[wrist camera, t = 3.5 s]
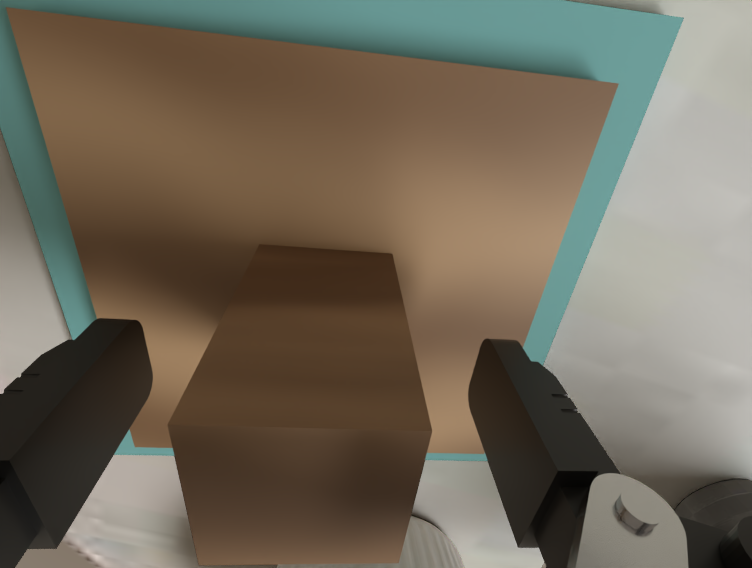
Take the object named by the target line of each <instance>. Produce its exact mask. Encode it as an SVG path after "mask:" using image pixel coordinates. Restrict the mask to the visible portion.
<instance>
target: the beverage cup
mask: <svg viewBox="0 0 752 568" xmlns="http://www.w3.org/2000/svg"><path fill="white" fill-rule="evenodd" d="M675 513H676V514H677V516H680V517H683V518H687V519H690V520H693V521H696V522H699V523H703V524H706V525H709V526H712V527H715V528H719V529H722V530H725V531H728V532H730V531H731V530H732V529H733V528H734V527H735V525H736V524H737V523H738V522H739V521H740V520H742V519H743V518H745V517H748V516H752V481H750V480H740V479H734V480H728V481H722V482H718V483H715V484H712V485H709V486H706V487H704V488H702V489H700V490H698V491H696V492H694V493H692V494H691V495H690V496H688V497H687V498H686V499H684V500H683V501H682V502H681V503H680V504H679V505H678V506H677V508H676V509H675Z"/></svg>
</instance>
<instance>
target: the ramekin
mask: <svg viewBox="0 0 752 568" xmlns="http://www.w3.org/2000/svg"><path fill="white" fill-rule="evenodd" d="M277 568H465V567H464V564H463V561H462V559H461V556H460V554H459V552H458V550H457V548H456V547H455V546H454V544H453V543H452V541H451V540H450V539H449V538H448V537H447V536H446V535H445V534H444V533H442V532H441V531H440V530H439V529H438V528H437V527H435V526H434V525H432V524H430V523H428V522H426V521H424V520H422V519H420V518H417V517H414V516H411V517H410V521H409V525H408V529H407V533H406V537H405V541H404V545H403V549H402V553H401V557H400V560H399V563H381V564H283V565H278V566H277Z"/></svg>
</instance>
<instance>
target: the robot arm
mask: <svg viewBox="0 0 752 568" xmlns="http://www.w3.org/2000/svg"><path fill="white" fill-rule="evenodd" d="M152 383H153V372H152V367H151V362H150V358H149V353H148V349H147V345H146V340H145V336H144V331H143V327H142V325H141V323H140V322H139V321H138V320H130V319H110V318H98V319H96V320H94V321H93V322H92V323H91V324H90V325H89V326H88V327H87V328H86V329H85V330H84V331H83V332H82V333H81V334H80V335H79V336H78V337H77V338H76V339H75V340H67V341H65V342H63V343H62V344H60V345H58V346H56V347H55V348H53V349H51V350H49V351H47V352H46V353H44V354H42V355H41V356H40V357H39V358H37V359H36V360H35V361H34V362H33V363H32V364H31V365H30V366H29V367H28V368H27V369H26V370H25V371H24V372H22V373H21V377H20V378H19V377H17V378H16V379H15V380H14V381H13V382H12V383H11V384H10V385H9V386H7V387H6V388H5V389H4V393H3V394H0V568H15V567H16V565H17V564H18V562H19V561H20V559H21V558H22V556H23V555H24V553H25V552H26V550H27V549H57V547H58V545H59V544H60V542H61V541H62V539H63V537H64V536H65V534H66V532H67V531H68V529H69V527H70V526H71V524H72V522H73V521H74V519H75V518H76V516H77V514H78V513H79V511H80V509H81V508H82V506H83V504H84V503H85V501H86V499H87V498H88V496H89V495H90V493H91V491H92V490H93V488H94V486H95V485H96V483H97V481H98V480H99V478H100V476H101V475H102V473H103V472H104V470H105V468H106V467H107V465H108V463H109V462H110V460H111V458H112V457H113V455H114V453H115V452H116V450H117V449H118V447H119V445H120V444H121V442H122V440H123V439H124V437H125V435H126V434H127V432H128V431H129V429H130V427H131V426H132V424H133V422H134V421H135V419H136V417H137V416H138V414H139V412H140V411H141V409H142V408H143V406H144V404H145V403H146V401H147V399H148V397H149V395H150V392H151V388H152ZM567 395H568V394H567V393H566V391H565V390H564V388H563V387H562V385H561V384H560V382H559V381H558V379H557V378H556V377H555V376H554V375H553V374H552V373H551V372H549V371H548V370H547V369H546V368H545V367H544V366H542V365H541V364H540V363H539V362H534V361H531V360H530V359H529V357H528V356H527V354H526V352H525V351H524V349H523V347H522V346H521V344H520V343H519V342H518V341H517V340H507V339H487V338H486V339H484V340H483V342H482V344H481V346H480V350H479V353H478V356H477V360H476V363H475V367H474V370H473V373H472V377H471V380H470V384H469V389H468V403H469V408H470V412H471V415H472V417H473V420H474V423H475V426H476V429H477V432H478V435H479V437H480V440H481V443H482V446H483V449H484V452H485V454H486V457H487V460H488V463H489V466H490V469H491V472H492V474H493V477H494V480H495V483H496V486H497V489H498V492H499V494H500V497H501V500H502V503H503V506H504V509H505V511H506V514H507V517H508V520H509V523H510V526H511V529H512V531H513V534H514V537H515V540H516V543H517V546H518V548H537V547H539V549H540V552H541V554H542V557H543V559H544V564H543V565H542V567H541V568H752V516H748V517H745V518H743V519H742V520H740V521H739V522H738V523H737V524H736V525H735V527H734V528H733V529H732V530H731V531H730V532H728V531H725V530H722V529H719V528H715V527H712V526H709V525H706V524H703V523H699V522H696V521H693V520H690V519H687V518H683V517H680V516H677V514H676V513H675V511H674V510H673V509H672V508H671V507H670V505H669V504H668V503H667V502H666V501H665V500H664V499H663V498H662V497H661V496H660V495H658V494H657V493H656V492H655V491H654V490H652V489H651V488H649V487H648V486H646V485H645V484H643V483H641V482H639V481H637V480H635V479H633V478H631V477H628V476H625V475H621V474H620V472H619V471H618V470H617V468H616V467H615V465H614V464H613V462H612V461H611V459H610V458H609V456H608V455H607V453H606V451H605V450H604V448H603V447H602V445H601V444H600V442H599V441H598V439H597V438H596V436H595V435H594V433H593V432H592V430H591V429H590V427H589V426H588V424H587V423H586V421H585V420H584V418H583V417H582V415H581V414H580V413H578V412H577V408H576V406H575V405H574V403H573V402H572V400H571V399H570V398H568V397H567Z"/></svg>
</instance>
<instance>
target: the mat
mask: <svg viewBox="0 0 752 568" xmlns="http://www.w3.org/2000/svg"><path fill="white" fill-rule="evenodd" d="M6 7H8V8H16V9H24V10H32V11H40V12H48V13H56V14H64V15H72V16H80V17H89V18H97V19H105V20H113V21H121V22H129V23H137V24H145V25H153V26H161V27H169V28H177V29H185V30H193V31H201V32H209V33H217V34H225V35H233V36H241V37H249V38H257V39H265V40H273V41H281V42H289V43H297V44H306V45H314V46H322V47H330V48H338V49H346V50H354V51H362V52H370V53H378V54H386V55H394V56H402V57H410V58H418V59H426V60H434V61H442V62H450V63H458V64H466V65H474V66H482V67H490V68H498V69H506V70H515V71H523V72H531V73H539V74H547V75H555V76H563V77H571V78H579V79H587V80H595V81H603V82H611V83H619V85H618V88H617V90H616V93H615V96H614V99H613V101H612V104H611V107H610V110H609V112H608V115H607V118H606V121H605V123H604V126H603V129H602V132H601V134H600V137H599V140H598V143H597V145H596V148H595V151H594V154H593V156H592V159H591V162H590V165H589V167H588V170H587V173H586V176H585V178H584V181H583V184H582V187H581V189H580V192H579V195H578V198H577V200H576V203H575V206H574V209H573V211H572V214H571V217H570V220H569V222H568V225H567V228H566V231H565V233H564V236H563V239H562V242H561V244H560V247H559V250H558V253H557V255H556V258H555V261H554V264H553V266H552V269H551V272H550V275H549V277H548V280H547V283H546V286H545V288H544V291H543V294H542V297H541V299H540V302H539V305H538V308H537V310H536V313H535V316H534V319H533V321H532V324H531V327H530V330H529V332H528V335H527V338H526V341H525V343H524V346H523V349H524V351H525V352H526V354H527V356H528V357H529V359H530V360H531V361H534V362H539V363H540V364H541V365H542V366H543V364H544V361H545V359H546V356H547V354H548V351H549V349H550V346H551V344H552V342H553V339H554V337H555V334H556V332H557V329H558V327H559V324H560V322H561V319H562V317H563V314H564V312H565V310H566V307H567V305H568V302H569V300H570V297H571V295H572V292H573V290H574V287H575V285H576V282H577V280H578V278H579V275H580V273H581V270H582V268H583V265H584V263H585V260H586V258H587V255H588V253H589V250H590V248H591V246H592V243H593V241H594V238H595V236H596V233H597V231H598V228H599V226H600V223H601V221H602V218H603V216H604V213H605V211H606V209H607V206H608V204H609V201H610V199H611V196H612V194H613V191H614V189H615V186H616V184H617V181H618V179H619V177H620V174H621V172H622V169H623V167H624V164H625V162H626V159H627V157H628V154H629V152H630V149H631V147H632V145H633V142H634V140H635V137H636V135H637V132H638V130H639V127H640V125H641V122H642V120H643V117H644V115H645V113H646V110H647V108H648V105H649V103H650V100H651V98H652V95H653V93H654V90H655V88H656V85H657V83H658V80H659V78H660V76H661V73H662V71H663V68H664V66H665V63H666V61H667V58H668V56H669V53H670V51H671V48H672V46H673V44H674V41H675V39H676V36H677V34H678V31H679V29H680V26H681V24H682V21H683V19H684V18H681V17H674V16H667V15H661V14H654V13H647V12H640V11H633V10H626V9H619V8H612V7H606V6H599V5H592V4H585V3H578V2H571V1H564V0H0V129H1V132H2V134H3V137H4V140H5V143H6V146H7V149H8V152H9V155H10V158H11V161H12V164H13V167H14V170H15V173H16V175H17V178H18V181H19V184H20V187H21V190H22V193H23V196H24V199H25V202H26V205H27V208H28V211H29V214H30V217H31V219H32V222H33V225H34V228H35V231H36V234H37V237H38V240H39V243H40V246H41V249H42V252H43V255H44V258H45V260H46V263H47V266H48V269H49V272H50V275H51V278H52V281H53V284H54V287H55V290H56V293H57V296H58V299H59V302H60V304H61V307H62V310H63V313H64V316H65V319H66V322H67V325H68V328H69V331H70V334H71V337H72V340H75V339H76V338H77V337H78V336H79V335H80V334H81V333H82V332H83V331H84V330H85V329H86V328H87V327H88V326H89V325H90V324H91V323H92V322H93V321H94V320H96V319H97V317H96V313H95V310H94V307H93V303H92V300H91V296H90V293H89V290H88V286H87V283H86V279H85V276H84V273H83V269H82V266H81V262H80V259H79V255H78V252H77V249H76V245H75V242H74V238H73V235H72V232H71V228H70V225H69V221H68V218H67V215H66V211H65V208H64V204H63V201H62V198H61V194H60V191H59V187H58V184H57V180H56V177H55V174H54V170H53V167H52V163H51V160H50V157H49V153H48V150H47V146H46V143H45V140H44V136H43V133H42V129H41V126H40V123H39V119H38V116H37V112H36V109H35V106H34V102H33V99H32V95H31V92H30V88H29V85H28V82H27V78H26V75H25V71H24V68H23V65H22V61H21V58H20V54H19V51H18V48H17V44H16V41H15V37H14V34H13V31H12V27H11V24H10V20H9V17H8V14H7V10H6ZM114 455H165V456H174V452H173V448H146V447H135V446H134V443H133V439H132V436H131V433H130V429H129V431H128V432H127V434H126V435H125V437H124V439H123V440H122V442H121V444H120V445H119V447H118V449H117V450H116V452H115V453H114ZM425 460H454V461H488V460H487V457H486V454H485V453H484V454H458V453H427V454H426V458H425Z"/></svg>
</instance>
